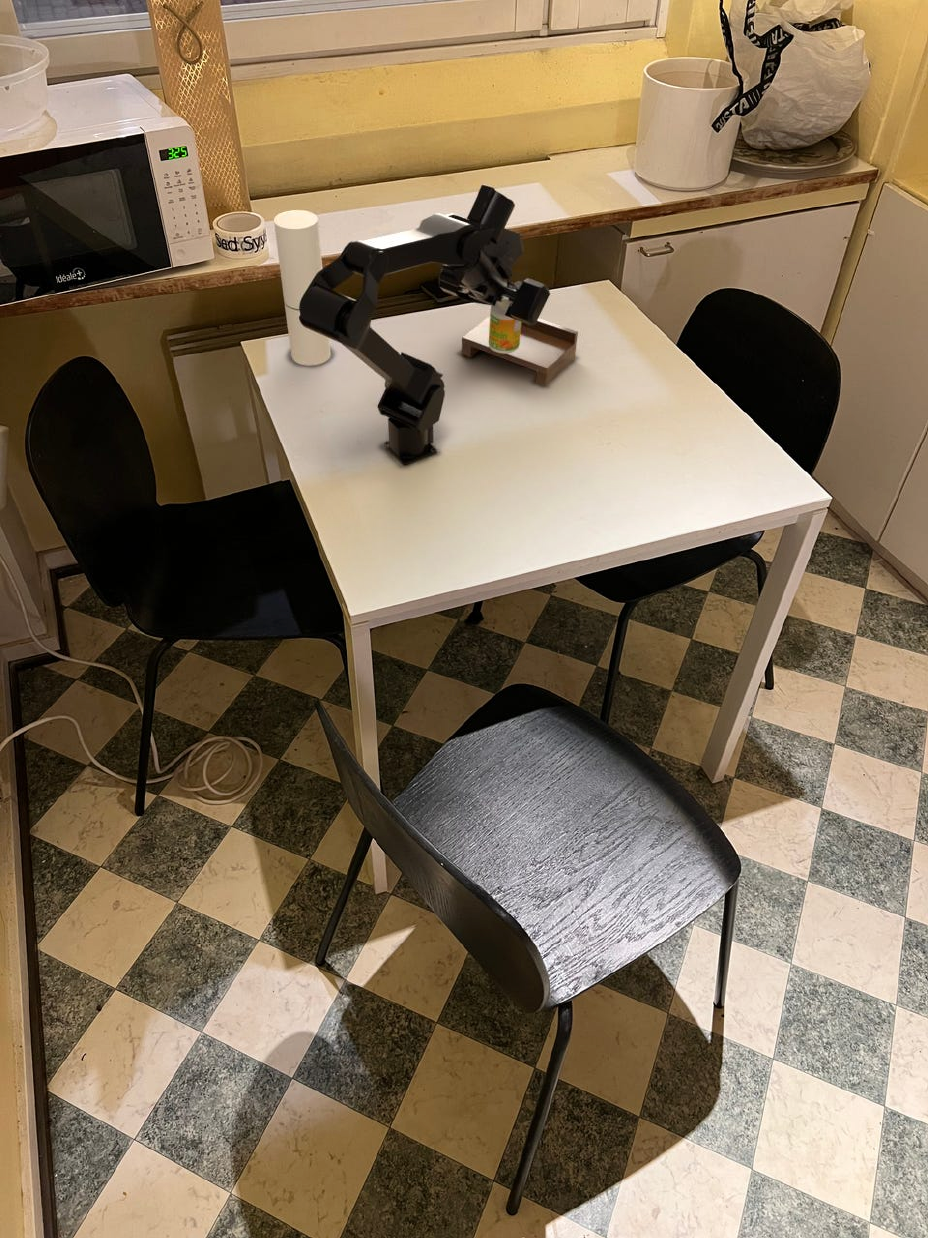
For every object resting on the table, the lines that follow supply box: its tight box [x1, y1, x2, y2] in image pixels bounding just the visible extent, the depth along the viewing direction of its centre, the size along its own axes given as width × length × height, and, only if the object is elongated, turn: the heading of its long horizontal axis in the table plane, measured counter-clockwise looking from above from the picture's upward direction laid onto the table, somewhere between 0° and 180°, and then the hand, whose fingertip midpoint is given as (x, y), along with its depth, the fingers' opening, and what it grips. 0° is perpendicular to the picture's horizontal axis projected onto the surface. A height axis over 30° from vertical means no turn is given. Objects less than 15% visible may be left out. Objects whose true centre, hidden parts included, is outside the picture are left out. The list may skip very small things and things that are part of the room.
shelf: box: [461, 305, 579, 386], centre depth 167 cm, size 11×18×6 cm, turn 57°
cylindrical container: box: [273, 209, 332, 367], centre depth 159 cm, size 7×7×25 cm
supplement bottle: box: [489, 288, 521, 354], centre depth 155 cm, size 5×5×10 cm
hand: (510, 308), depth 155 cm, fingers closed on supplement bottle, 5 cm apart
